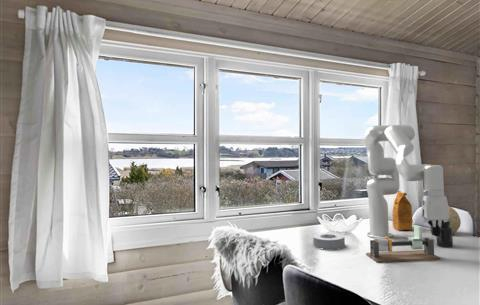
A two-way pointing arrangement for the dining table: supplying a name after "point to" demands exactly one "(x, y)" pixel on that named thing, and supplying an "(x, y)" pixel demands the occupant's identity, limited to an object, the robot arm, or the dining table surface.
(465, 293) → the dining table surface
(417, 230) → the mint green stepped block
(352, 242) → the dining table surface
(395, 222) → the coffee package
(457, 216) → the fossilized egg
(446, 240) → the supplement bottle
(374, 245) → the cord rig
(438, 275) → the dining table surface
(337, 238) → the tape roll
